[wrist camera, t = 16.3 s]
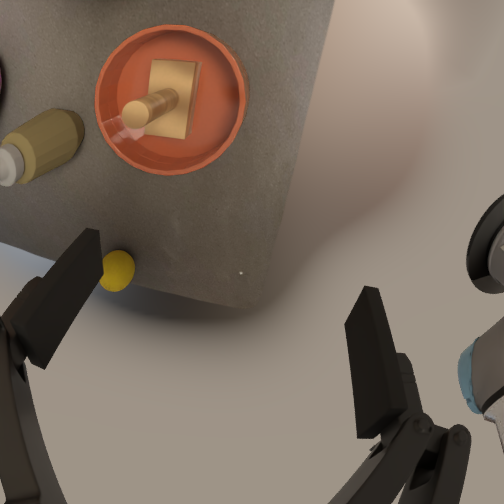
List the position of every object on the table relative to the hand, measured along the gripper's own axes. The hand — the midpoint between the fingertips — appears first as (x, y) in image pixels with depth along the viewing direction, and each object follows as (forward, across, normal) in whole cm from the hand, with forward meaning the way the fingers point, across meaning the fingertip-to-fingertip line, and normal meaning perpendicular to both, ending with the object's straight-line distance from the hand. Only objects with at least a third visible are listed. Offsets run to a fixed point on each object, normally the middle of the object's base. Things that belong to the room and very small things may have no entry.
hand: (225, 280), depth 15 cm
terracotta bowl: (+27, -11, +4) cm, 29 cm away
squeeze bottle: (+26, -27, -2) cm, 38 cm away
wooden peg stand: (+26, -11, +4) cm, 28 cm away
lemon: (+27, -18, -22) cm, 39 cm away
